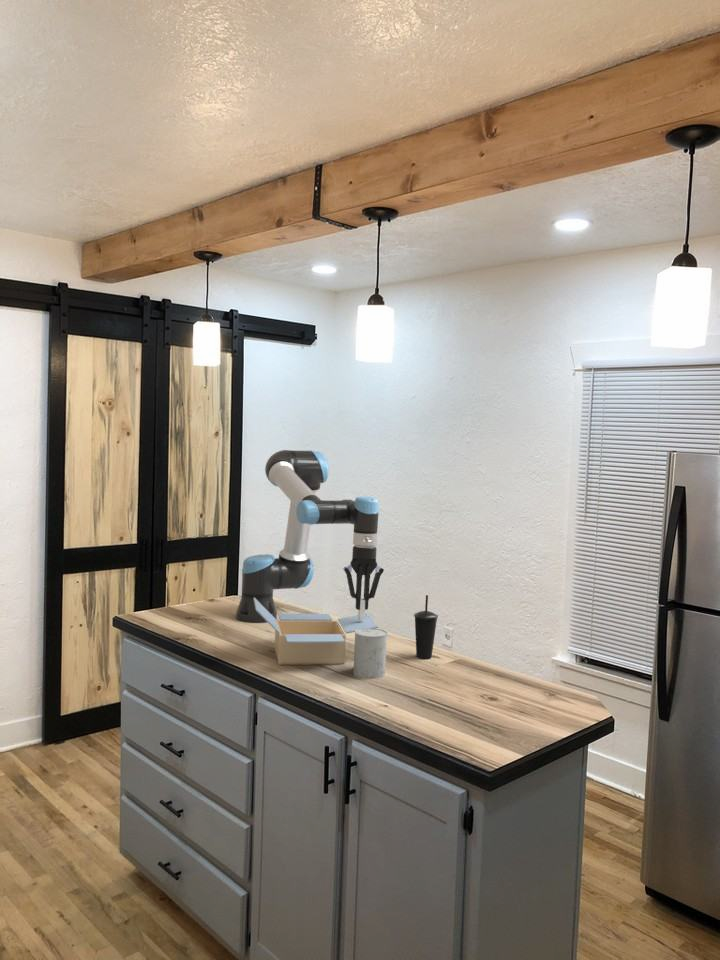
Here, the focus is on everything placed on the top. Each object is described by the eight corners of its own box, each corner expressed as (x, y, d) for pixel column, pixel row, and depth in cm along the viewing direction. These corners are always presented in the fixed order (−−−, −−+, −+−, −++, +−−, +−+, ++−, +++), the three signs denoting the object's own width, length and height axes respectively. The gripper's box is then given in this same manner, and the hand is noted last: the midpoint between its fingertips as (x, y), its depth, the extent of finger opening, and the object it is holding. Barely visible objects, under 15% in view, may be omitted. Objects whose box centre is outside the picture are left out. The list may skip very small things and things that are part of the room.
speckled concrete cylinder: (386, 669, 230) (388, 629, 229) (384, 679, 220) (386, 637, 219) (354, 667, 231) (356, 627, 230) (351, 677, 221) (353, 635, 220)
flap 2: (367, 613, 251) (367, 614, 251) (337, 618, 250) (337, 620, 250) (377, 626, 235) (378, 627, 235) (346, 632, 233) (346, 633, 233)
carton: (272, 641, 255) (274, 613, 255) (332, 641, 259) (333, 613, 258) (280, 673, 221) (282, 641, 221) (348, 672, 225) (350, 641, 224)
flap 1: (275, 618, 246) (274, 619, 246) (254, 597, 244) (253, 598, 244) (279, 632, 229) (278, 633, 229) (256, 609, 228) (255, 610, 228)
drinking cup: (408, 657, 243) (411, 595, 242) (417, 652, 250) (420, 591, 249) (430, 662, 240) (433, 599, 239) (439, 656, 246) (442, 595, 245)
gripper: (346, 547, 236) (343, 622, 238) (387, 548, 239) (383, 622, 240) (342, 543, 244) (339, 616, 245) (382, 544, 246) (378, 616, 248)
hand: (361, 619), depth 243 cm, fingers closed
